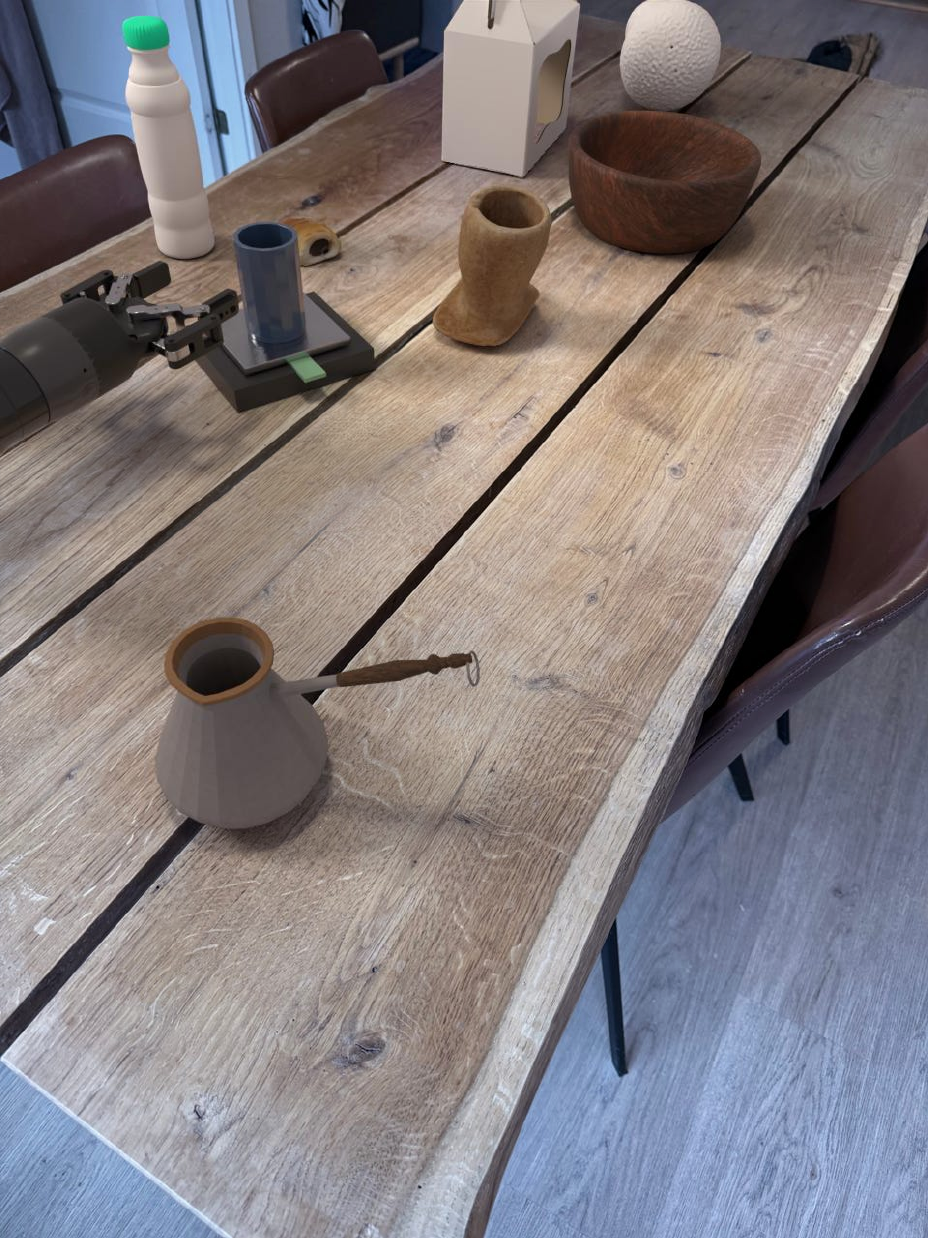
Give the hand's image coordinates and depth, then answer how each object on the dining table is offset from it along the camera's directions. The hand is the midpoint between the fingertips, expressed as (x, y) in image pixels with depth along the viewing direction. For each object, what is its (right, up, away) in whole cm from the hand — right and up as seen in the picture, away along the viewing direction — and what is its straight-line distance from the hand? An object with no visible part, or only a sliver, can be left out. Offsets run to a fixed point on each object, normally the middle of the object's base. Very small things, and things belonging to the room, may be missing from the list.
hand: (200, 284), depth 84 cm
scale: (+4, -3, +14) cm, 15 cm away
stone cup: (+28, +4, +22) cm, 36 cm away
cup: (+5, 0, +12) cm, 13 cm away
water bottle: (-11, +16, +31) cm, 36 cm away
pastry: (+5, +16, +32) cm, 36 cm away
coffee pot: (+14, -43, -21) cm, 50 cm away
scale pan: (+5, -1, +12) cm, 13 cm away
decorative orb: (+58, +57, +72) cm, 108 cm away
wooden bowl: (+50, +24, +41) cm, 69 cm away
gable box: (+31, +43, +58) cm, 79 cm away
